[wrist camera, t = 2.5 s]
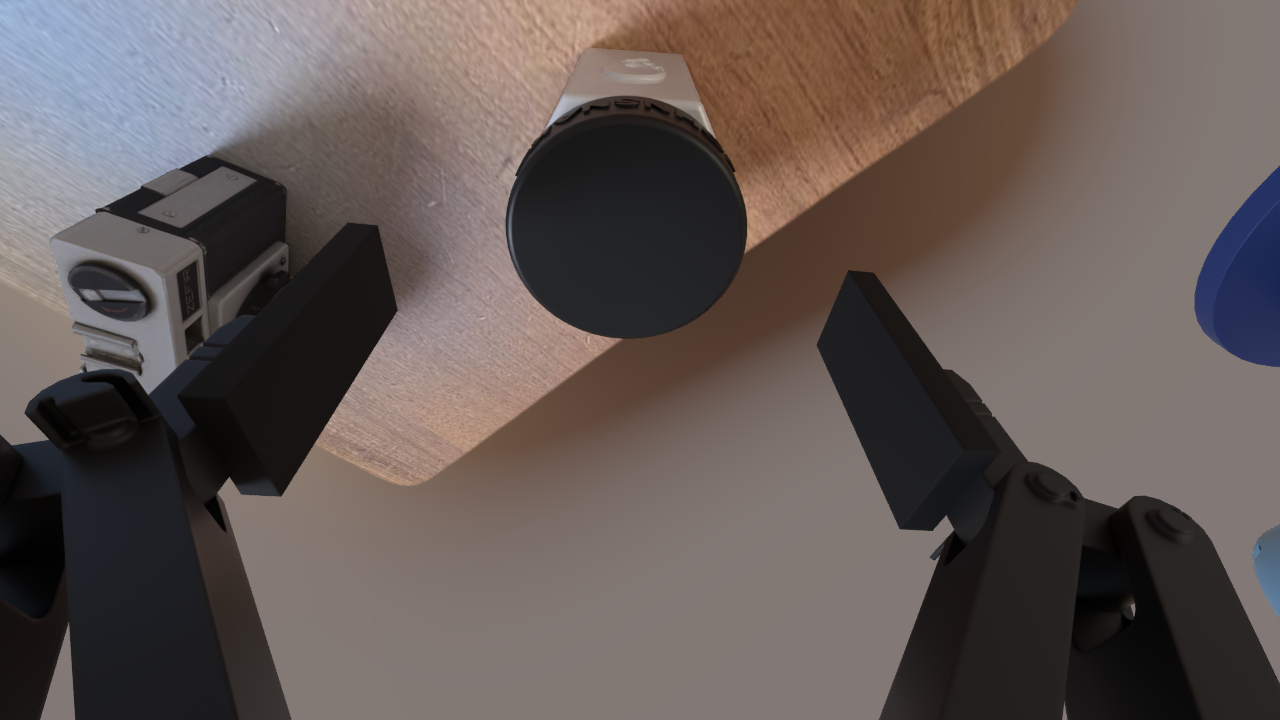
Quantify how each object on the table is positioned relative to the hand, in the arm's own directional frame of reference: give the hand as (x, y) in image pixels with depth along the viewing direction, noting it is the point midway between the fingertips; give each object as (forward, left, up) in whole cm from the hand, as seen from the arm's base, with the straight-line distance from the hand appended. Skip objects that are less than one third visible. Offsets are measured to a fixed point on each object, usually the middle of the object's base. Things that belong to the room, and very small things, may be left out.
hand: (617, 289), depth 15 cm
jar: (0, 0, -15) cm, 15 cm away
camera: (+21, +11, -15) cm, 28 cm away
